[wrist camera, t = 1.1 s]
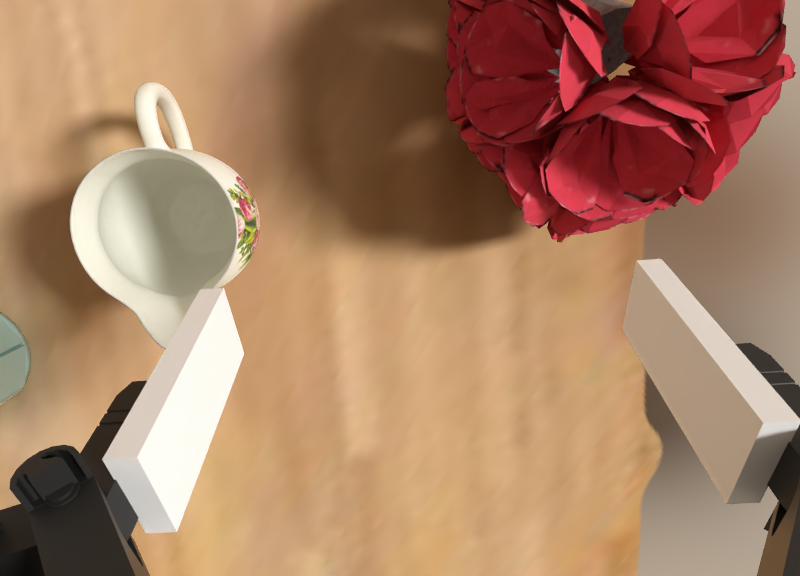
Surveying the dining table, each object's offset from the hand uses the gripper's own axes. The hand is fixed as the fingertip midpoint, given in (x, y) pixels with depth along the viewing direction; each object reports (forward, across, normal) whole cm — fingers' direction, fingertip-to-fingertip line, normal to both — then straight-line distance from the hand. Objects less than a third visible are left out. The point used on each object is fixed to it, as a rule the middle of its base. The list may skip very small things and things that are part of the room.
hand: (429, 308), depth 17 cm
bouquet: (+36, -12, 0) cm, 38 cm away
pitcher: (+29, +19, +8) cm, 35 cm away
